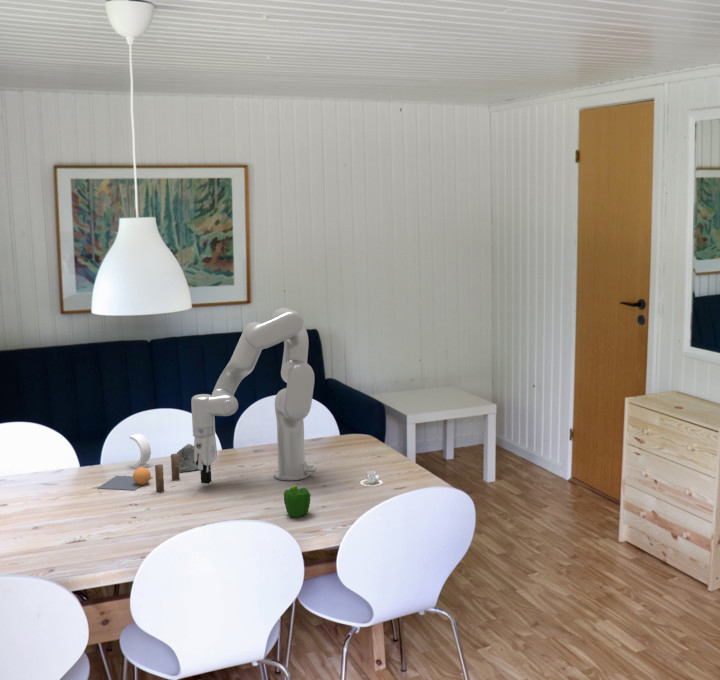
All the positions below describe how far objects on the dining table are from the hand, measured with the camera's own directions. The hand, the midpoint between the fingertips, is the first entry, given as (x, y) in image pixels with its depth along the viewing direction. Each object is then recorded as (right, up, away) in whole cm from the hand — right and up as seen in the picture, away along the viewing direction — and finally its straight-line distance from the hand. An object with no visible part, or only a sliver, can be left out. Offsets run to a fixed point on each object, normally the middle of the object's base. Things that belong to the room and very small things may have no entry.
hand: (206, 482), depth 280 cm
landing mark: (-29, -1, +6) cm, 30 cm away
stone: (-10, +1, +21) cm, 24 cm away
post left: (-15, -2, -4) cm, 16 cm away
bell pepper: (+33, -5, -28) cm, 44 cm away
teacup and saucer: (+60, -1, +2) cm, 60 cm away
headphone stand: (-29, +1, +25) cm, 38 cm away
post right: (-13, 0, +9) cm, 16 cm away
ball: (-23, +2, +4) cm, 23 cm away
